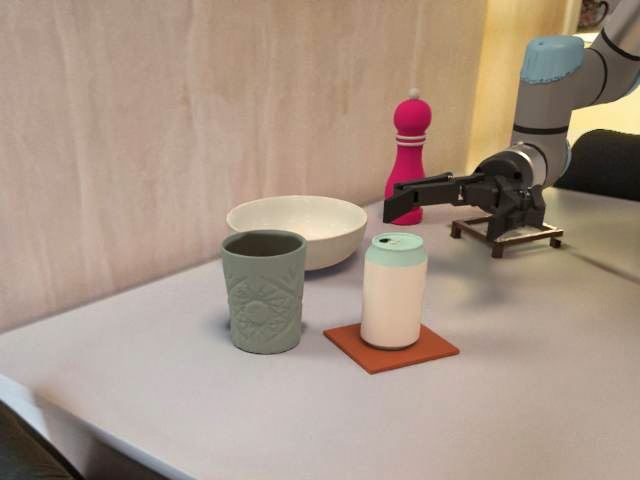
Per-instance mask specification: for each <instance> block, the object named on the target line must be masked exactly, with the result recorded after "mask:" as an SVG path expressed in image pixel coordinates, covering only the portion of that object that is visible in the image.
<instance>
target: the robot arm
mask: <svg viewBox="0 0 640 480" xmlns="http://www.w3.org/2000/svg"><path fill="white" fill-rule="evenodd" d="M585 44H586V43H585V41H584V38H582V37H581V36H577V35H566V34H564V35H563V34H561V35H560V34H558V35H557V34H555V35H554V34H553V35H551V34H550V35H540V36H535V37H533V38H532V39H530V40H529V41H528V43H527V44H526V47H525V52H524V56H523V61H522V66H521V68H520V72H519V80H518V81H519V83H518V89H517V96H516V101H515V102H516V103H515V109H514V110H515V111H514V117H513V123H512V129H511V136H510V140H509V141H510V142H509V147H507V148H505V149H502V150H501V151H499V152H497V153H493V154H492V155H490V156H488V157H486V158H485V159H483V160H482V161H481V162H479V164H478V165H477V166H476V167H475V168H474V170H473V172H472V173H471V174H470V175H461V176H454V172H451V171H446V172H443V173H441V174H438V175H432V176H427V177H426V178H421V179H415V180H410V181H404V182H397V183H394V184H393V196H391V197H390V198H388V199H384V200H383V208H382V209H383V210H382V211H383V212H382V224H391V223H390V222H392V221H394V220H396V219H398V218H400V217H401V216H403V215H405V214H407V213H409V212H411V211H413V207H429V206H437V205H439V206H440V205H448V204H449V205H451V206H453V207H466V206H470V207H473V208H474V207H476V208H477V207H478V208H479V209H480V210H481V211H483V212H484V213H487V214H488V215H489V214H493V215H492V216H490V217H489V221H488V222H487V229H486V233H487V235H486V241H488V242H493V241H494V240H496V239H497V238H498V239H500V237H502V236H503V235H505V234H506V233H508V232H509V231H515V230H517V229H518V228H523V227H526V226H527V224H526V223H531V225H532V226H531V225H530V226H531V227H532V228H535V229H538V228H541V227H542V225H543V223H544V220H545V216H546V215H545V214H546V209H547V204H546V201H545V199H544V196H543V191H544V190H546V189H548V188H550V187H551V186H553V185H554V184H555V183H556V182H558V181H559V179H560V178H561V177H562V176H563V175H564V174H565V173H566V171H567V170H568V168H569V166H570V163H571V160H572V147H571V144H570V141H569V139H568V133H569V129H570V124H571V118H572V114H573V111H576V110H577V111H578V110H581V109H584V108H589V107H595V106H599V105H606V104H610V103H615V102H617V101H619V100H621V99H623V98H625V97H627V96H630V95H631V94H632V93H634V91H636V90H637V89H638V87H639V86H640V0H620V1H619V3H618V4H617V5H616V7H615V9H614V10H613V12H612V13H611V15H610V17H609V18H608V19H607V21H606V23H605V24H604V25H603V27H602V28H601V30H600V31H599V33H597V36H596V37H595V38H594V39H593V41H592V43H591V44H590V45H589V46H588V47H585ZM460 197H461V199H459V198H460ZM486 241H485V242H486ZM488 242H487V243H488Z"/></svg>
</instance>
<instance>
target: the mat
mask: <svg viewBox="0 0 640 480" xmlns="http://www.w3.org/2000/svg"><path fill="white" fill-rule="evenodd" d="M360 333H361V322H358V323H352V324H348V325H343V326H337V327H333V328H329V329H323V333H322V334H323V335H324V336H325V337H326V338H327V339H328V340H330V341H331V342H332V343H333V344H334V345H335V346H337V347H338V348H339V349H340V350H342V352H344V353H345V354H346V355H347V356H349V358H351V359H352V360H353V361H354V362H356V364H358V365H359V366H360V367H361V368H362V369H364V370H365V371H366V372H367V373H368V374H370V375H372V374H377V373H381V372H386V371H389V370H395V369H399V368H403V367H407V366H412V365H417V364H420V363H424V362H429V361H433V360H436V359H443V358H446V357H450V356H455V355H458V354H460V350H461V349H460V348H458V347H456V346H455V345H453V344H452V343H450V342H449V341H447V339H445V338H444V337H442V336H441V335H438V334H437V333H436V332H435V331H433V330H432V329H430V328H429V327H427V326H426V325H425V324H423V323H421V325H420V334H419V338H418V340H417V341H415V342H414V343H412V344H410V345H409V346H407V347H404V348H401V349H381V348H377V347H374V346H372V345H370V344H369V343H368V342H366V341H365V340H364V339H363V338H362V337H361V334H360Z"/></svg>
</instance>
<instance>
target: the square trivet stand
mask: <svg viewBox="0 0 640 480" xmlns="http://www.w3.org/2000/svg"><path fill="white" fill-rule="evenodd" d="M492 215H493V214H489V213H488V214H484V215H478V216H473V217H467V218H466V217H465V218H461V219H460V218H459V219H454V220H452V221H451V228H450V229H451V230H450V237H451V238H453V239H458V237H459V238H462V231H463V232H465V233H466V234H469V235H471V236H473V237H476V238H478V239H479V240H482V241H483V242H486V243H488V244H490V245H492V251H491V256H492V257H491V258H493V257H494V258H493V259H495V258H499V259H502V258H503V257H504V250H505V247H507V246H508V247H509V246H514V245H518V244H524V243H528V242H529V243H530V242H535V241H539V240H544V239H545V240H546V239H549V243H548V246H549V247H551V248H552V249H555V248H560V247H561V245H562V240H561V239H557V238H561V237H564V236H563V235H564V230H563V229H562V228H558V227H555V226H553V225H550V224H548V223H546V222H543V225H542V227H541V228H537V229H539V230H540V231H539V232H533V233H529V234H527V233H526V234H522V235H517V236H511V237H506V238H497V239H496V240H494V241H493V242H488V241H486V235H487V232H485V231H483V230H481V229H479V228H478V227H474V226H473V225H476V224H477V225H479V224H484V223H488V221H489V217H490V216H492ZM526 225H529V226H531V227H532V225H531V223H526Z"/></svg>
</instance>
